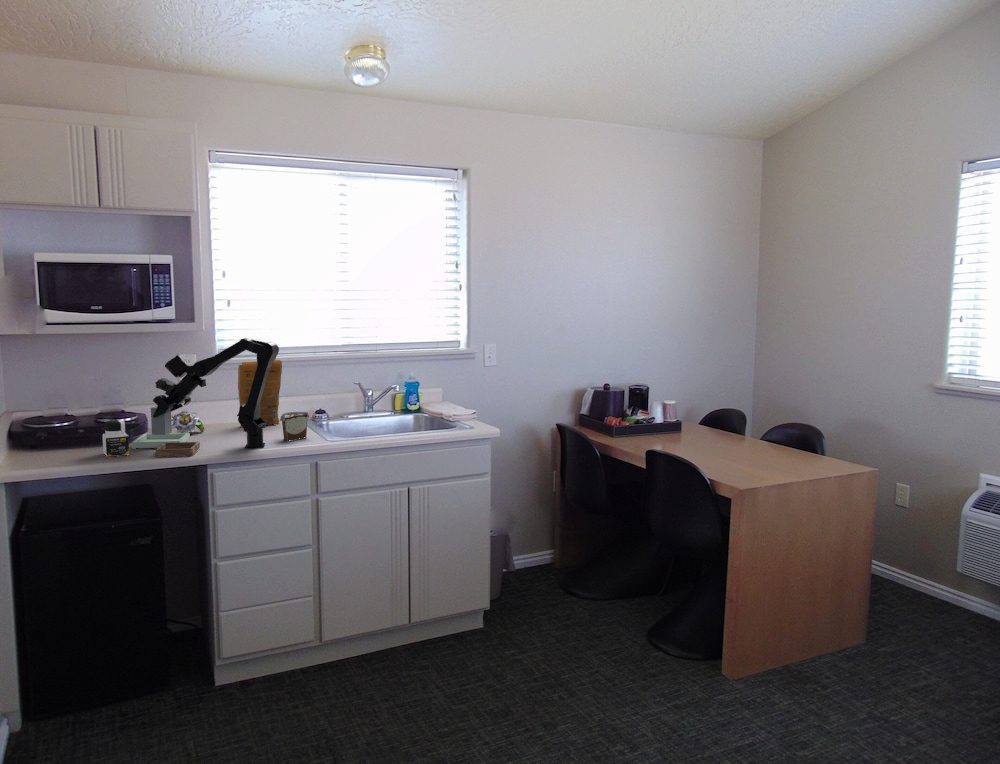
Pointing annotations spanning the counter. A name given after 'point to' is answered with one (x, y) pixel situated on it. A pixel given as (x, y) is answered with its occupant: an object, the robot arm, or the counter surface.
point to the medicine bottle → (115, 438)
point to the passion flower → (186, 422)
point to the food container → (294, 425)
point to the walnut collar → (177, 449)
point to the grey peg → (161, 423)
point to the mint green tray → (159, 440)
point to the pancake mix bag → (270, 391)
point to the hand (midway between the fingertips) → (157, 415)
